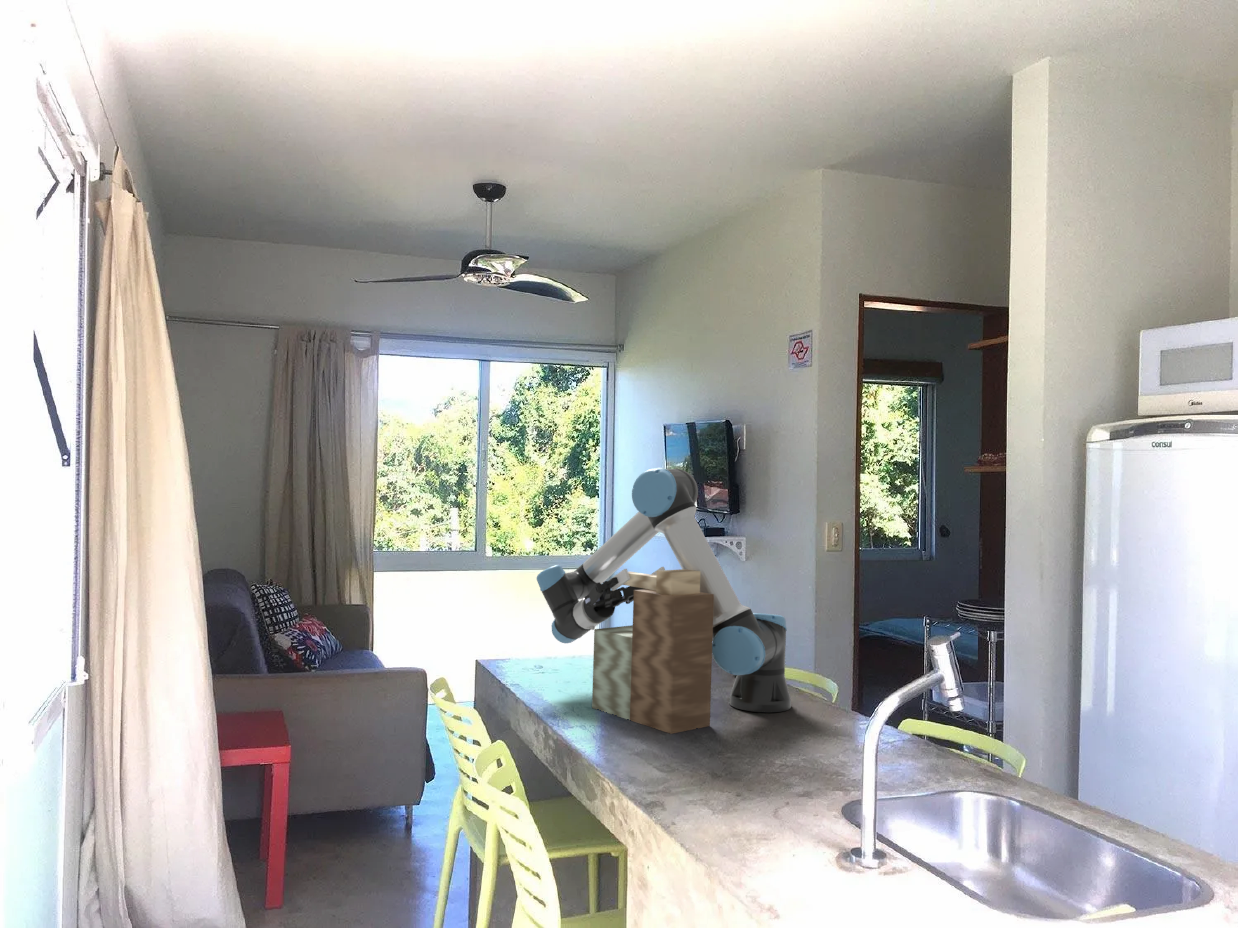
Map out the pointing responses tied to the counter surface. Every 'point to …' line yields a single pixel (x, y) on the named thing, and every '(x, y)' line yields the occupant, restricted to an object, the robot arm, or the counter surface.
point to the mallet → (667, 581)
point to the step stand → (658, 662)
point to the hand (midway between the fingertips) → (646, 572)
